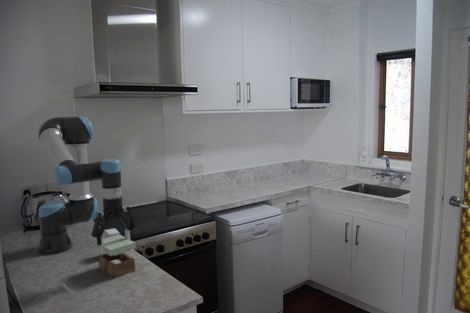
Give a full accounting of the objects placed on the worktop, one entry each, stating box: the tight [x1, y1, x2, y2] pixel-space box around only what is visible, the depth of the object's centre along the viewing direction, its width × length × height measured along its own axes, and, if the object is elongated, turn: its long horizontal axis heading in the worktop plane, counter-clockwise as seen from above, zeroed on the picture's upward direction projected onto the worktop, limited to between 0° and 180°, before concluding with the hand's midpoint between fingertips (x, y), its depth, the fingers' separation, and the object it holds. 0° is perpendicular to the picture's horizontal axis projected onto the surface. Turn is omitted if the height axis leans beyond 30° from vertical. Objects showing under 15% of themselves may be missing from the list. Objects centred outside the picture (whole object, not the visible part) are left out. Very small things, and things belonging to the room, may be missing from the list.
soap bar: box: [110, 259, 122, 264], centre depth 151 cm, size 6×4×3 cm, turn 45°
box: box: [98, 252, 136, 279], centre depth 151 cm, size 14×9×6 cm, turn 45°
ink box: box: [104, 227, 121, 238], centre depth 167 cm, size 9×5×12 cm, turn 33°
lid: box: [94, 234, 137, 256], centre depth 150 cm, size 14×11×3 cm
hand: (115, 248), depth 150 cm, fingers closed on lid, 11 cm apart
